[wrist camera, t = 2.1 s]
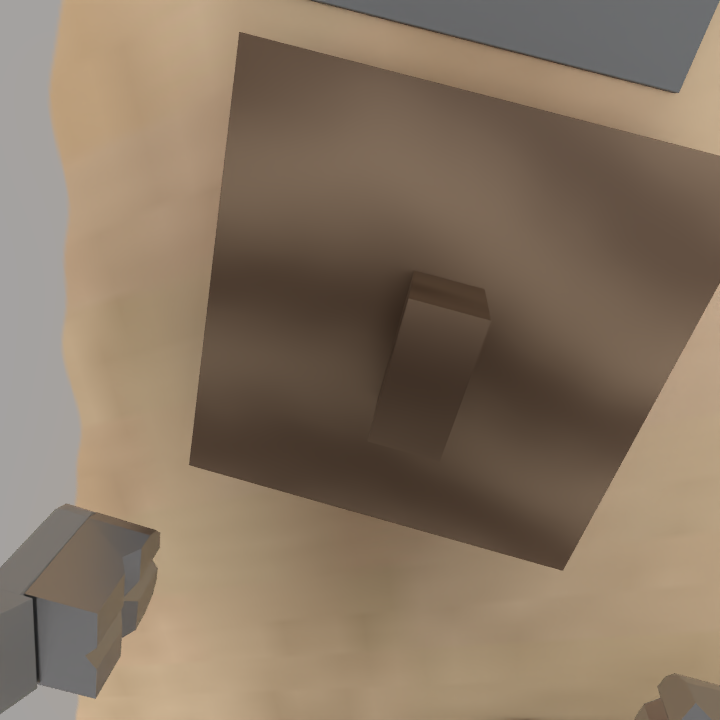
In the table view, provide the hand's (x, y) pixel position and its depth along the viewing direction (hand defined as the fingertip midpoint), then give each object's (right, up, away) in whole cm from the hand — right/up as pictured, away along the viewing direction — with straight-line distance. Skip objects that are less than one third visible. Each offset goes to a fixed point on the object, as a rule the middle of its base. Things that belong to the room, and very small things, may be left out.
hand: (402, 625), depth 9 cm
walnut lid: (+2, +5, +12) cm, 13 cm away
